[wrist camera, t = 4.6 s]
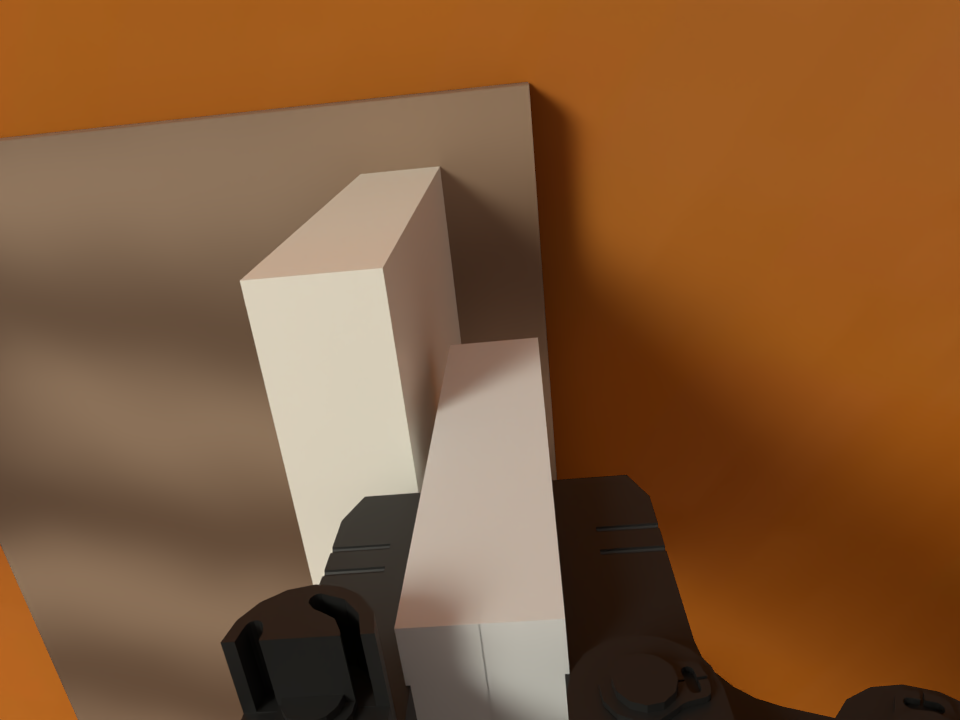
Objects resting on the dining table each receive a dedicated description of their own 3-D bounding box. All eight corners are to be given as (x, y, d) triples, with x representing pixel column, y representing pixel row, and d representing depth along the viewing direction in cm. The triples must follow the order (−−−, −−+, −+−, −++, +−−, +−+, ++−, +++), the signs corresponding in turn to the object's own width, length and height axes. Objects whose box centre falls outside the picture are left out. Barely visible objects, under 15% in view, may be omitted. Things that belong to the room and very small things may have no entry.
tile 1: (354, 174, 16) (228, 281, 9) (439, 166, 16) (382, 267, 9) (399, 445, 19) (330, 694, 12) (472, 439, 19) (449, 689, 12)
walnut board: (-129, 151, 18) (-170, 158, 17) (527, 82, 17) (528, 84, 16) (124, 755, 26) (107, 786, 25) (574, 737, 25) (577, 769, 24)
